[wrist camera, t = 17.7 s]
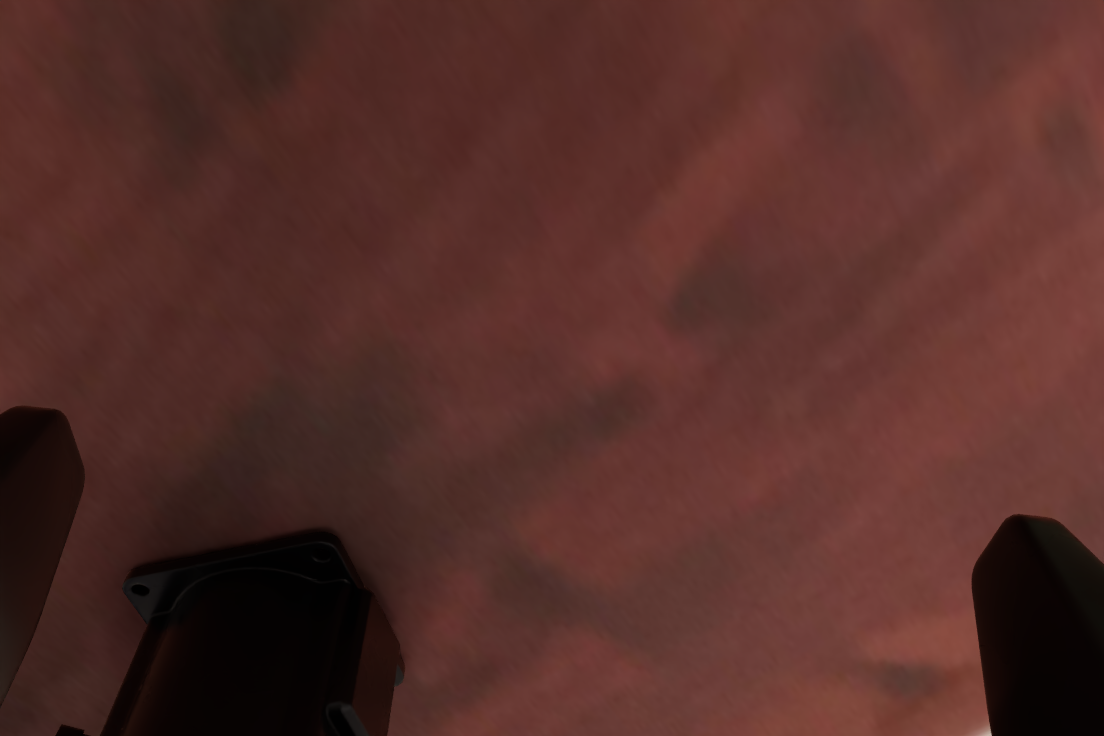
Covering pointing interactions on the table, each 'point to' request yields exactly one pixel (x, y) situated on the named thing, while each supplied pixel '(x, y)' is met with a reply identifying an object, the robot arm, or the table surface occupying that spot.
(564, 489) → the table surface
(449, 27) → the table surface
